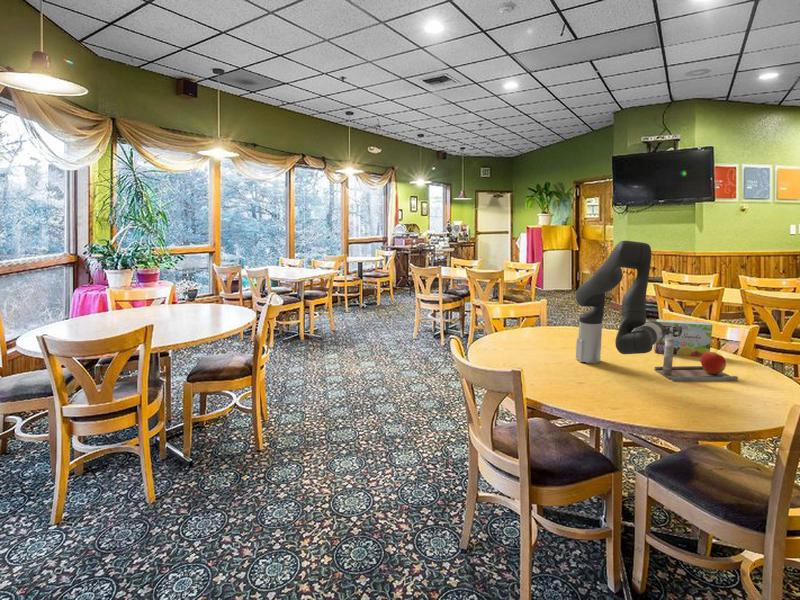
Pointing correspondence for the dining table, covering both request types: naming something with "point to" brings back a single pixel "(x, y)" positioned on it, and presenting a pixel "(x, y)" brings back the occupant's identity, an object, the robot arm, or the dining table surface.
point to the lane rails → (698, 378)
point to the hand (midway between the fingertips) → (663, 325)
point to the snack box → (688, 338)
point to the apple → (713, 362)
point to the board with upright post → (671, 373)
